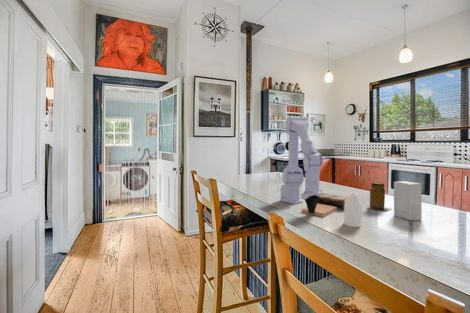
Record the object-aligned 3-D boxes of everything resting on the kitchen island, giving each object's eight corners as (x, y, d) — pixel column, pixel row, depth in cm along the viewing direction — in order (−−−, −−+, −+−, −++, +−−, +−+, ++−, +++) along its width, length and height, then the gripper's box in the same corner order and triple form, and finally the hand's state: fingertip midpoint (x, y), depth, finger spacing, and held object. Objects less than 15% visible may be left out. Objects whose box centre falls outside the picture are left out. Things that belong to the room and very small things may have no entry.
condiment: (372, 205, 121) (373, 181, 120) (391, 209, 114) (392, 183, 114) (365, 208, 116) (366, 183, 115) (385, 212, 110) (386, 185, 109)
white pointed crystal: (343, 194, 92) (346, 191, 96) (342, 225, 92) (345, 221, 97) (361, 195, 88) (363, 193, 93) (360, 228, 89) (362, 224, 94)
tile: (302, 213, 109) (302, 208, 109) (316, 207, 119) (316, 203, 119) (323, 218, 102) (323, 213, 102) (336, 211, 112) (337, 206, 112)
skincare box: (421, 220, 98) (423, 183, 97) (408, 221, 97) (410, 184, 96) (404, 214, 106) (406, 180, 106) (392, 214, 106) (393, 180, 105)
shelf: (314, 204, 123) (314, 195, 123) (321, 201, 129) (321, 192, 128) (344, 210, 113) (344, 200, 112) (350, 206, 118) (351, 197, 118)
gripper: (312, 184, 96) (312, 218, 97) (328, 180, 107) (327, 211, 108) (296, 182, 101) (296, 214, 102) (313, 178, 112) (312, 208, 113)
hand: (311, 212), depth 105 cm, fingers closed
